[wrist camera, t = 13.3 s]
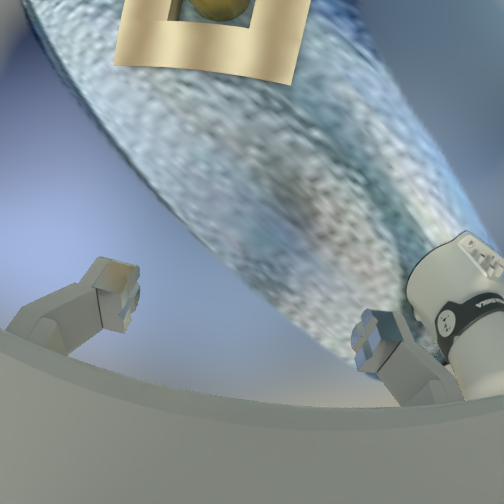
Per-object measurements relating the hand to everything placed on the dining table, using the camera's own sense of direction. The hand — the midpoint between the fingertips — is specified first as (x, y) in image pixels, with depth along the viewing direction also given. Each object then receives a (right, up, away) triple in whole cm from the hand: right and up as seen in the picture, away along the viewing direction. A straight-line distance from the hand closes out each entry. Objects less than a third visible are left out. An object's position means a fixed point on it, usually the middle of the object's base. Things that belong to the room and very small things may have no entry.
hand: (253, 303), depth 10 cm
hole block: (-3, +29, +13) cm, 32 cm away
